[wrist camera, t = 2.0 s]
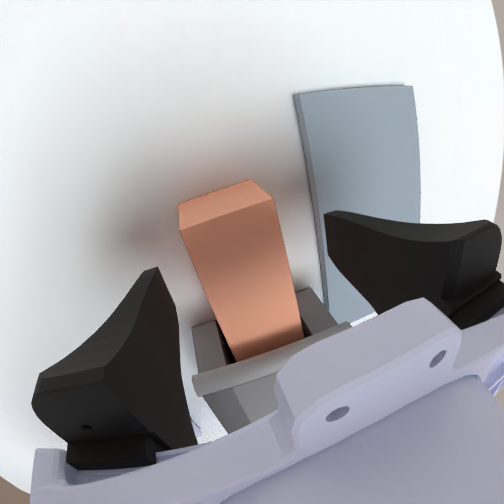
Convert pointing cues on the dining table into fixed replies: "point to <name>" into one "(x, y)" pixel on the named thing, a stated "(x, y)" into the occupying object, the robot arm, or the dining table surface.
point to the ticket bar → (243, 267)
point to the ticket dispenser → (253, 366)
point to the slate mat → (359, 169)
